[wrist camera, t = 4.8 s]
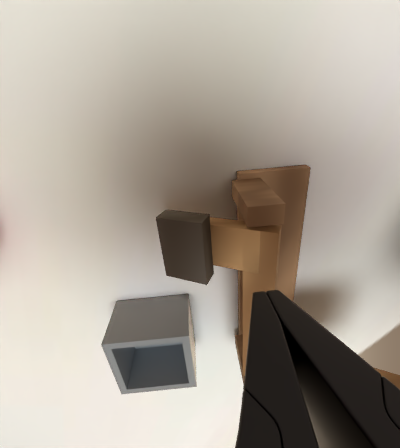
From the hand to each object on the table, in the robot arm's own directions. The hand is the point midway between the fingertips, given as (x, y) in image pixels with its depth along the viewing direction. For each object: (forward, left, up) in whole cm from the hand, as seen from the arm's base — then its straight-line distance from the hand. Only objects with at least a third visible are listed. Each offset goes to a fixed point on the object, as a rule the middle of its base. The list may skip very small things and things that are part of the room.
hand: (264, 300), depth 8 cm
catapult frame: (-3, +8, -11) cm, 14 cm away
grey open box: (+7, +13, -11) cm, 18 cm away
